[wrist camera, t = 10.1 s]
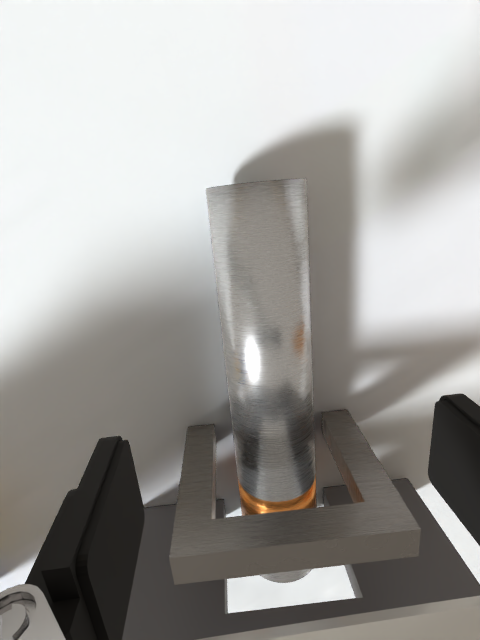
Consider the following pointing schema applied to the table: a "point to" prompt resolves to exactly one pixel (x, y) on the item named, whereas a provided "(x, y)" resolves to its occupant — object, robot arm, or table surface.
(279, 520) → the collar
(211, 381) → the table surface
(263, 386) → the steel tube
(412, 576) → the plate
